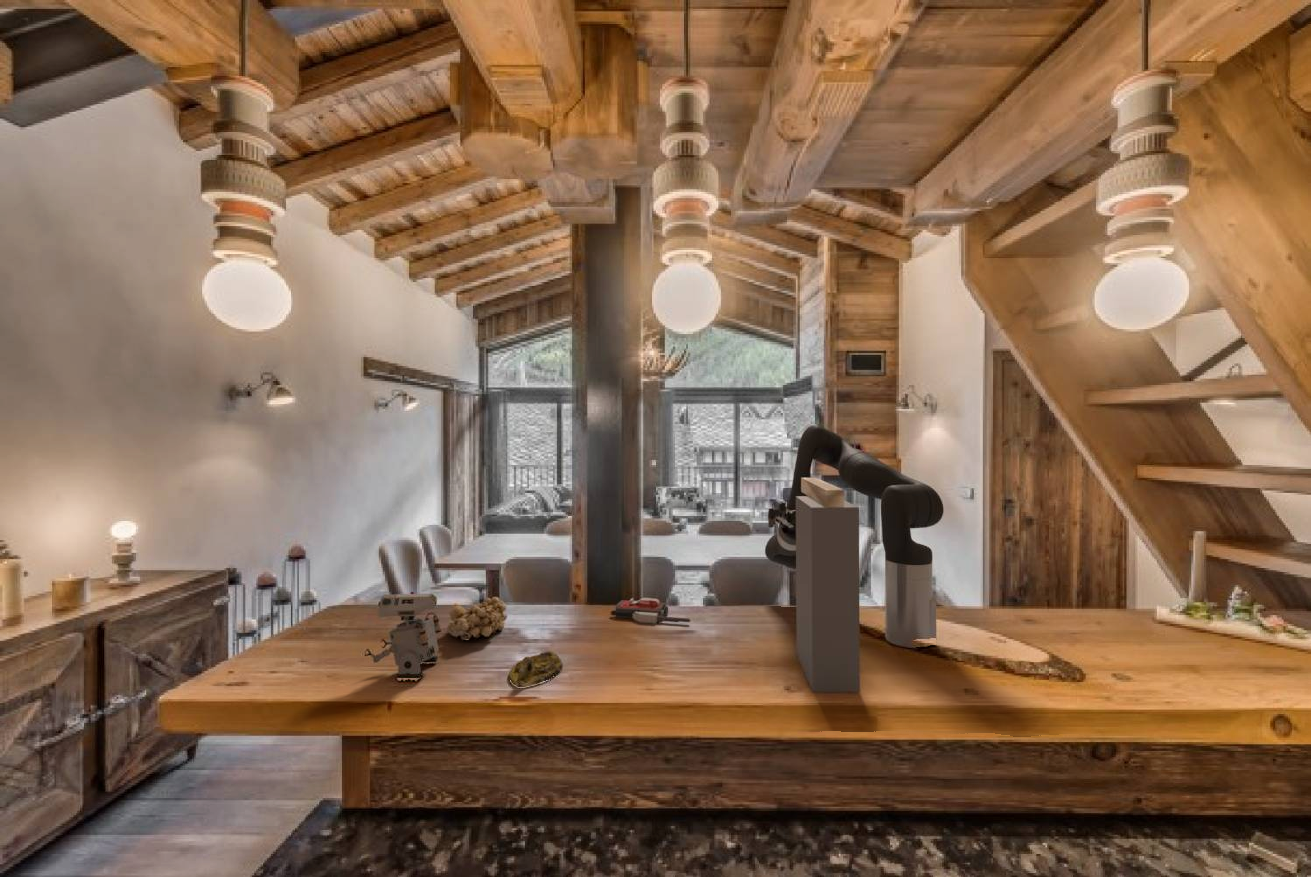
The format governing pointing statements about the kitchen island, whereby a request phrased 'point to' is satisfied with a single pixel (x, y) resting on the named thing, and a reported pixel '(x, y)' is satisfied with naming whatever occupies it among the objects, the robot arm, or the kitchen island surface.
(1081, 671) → the kitchen island surface
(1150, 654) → the kitchen island surface
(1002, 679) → the kitchen island surface
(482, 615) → the mineral formation
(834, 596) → the charcoal plinth
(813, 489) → the wooden bar
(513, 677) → the olive green oval lump
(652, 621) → the red black elongated piece
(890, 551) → the robot arm
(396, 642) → the figurine
